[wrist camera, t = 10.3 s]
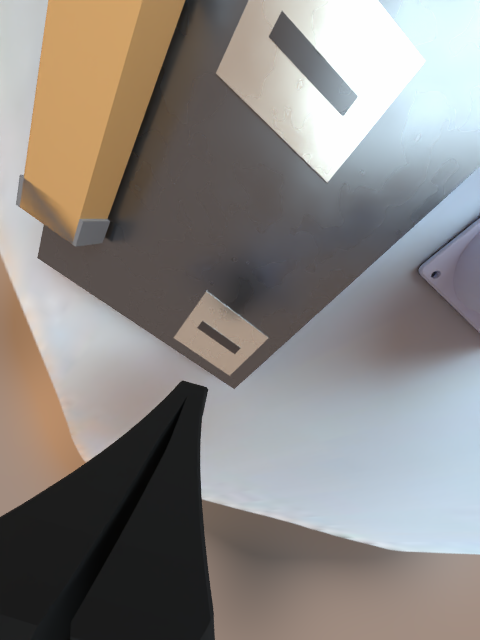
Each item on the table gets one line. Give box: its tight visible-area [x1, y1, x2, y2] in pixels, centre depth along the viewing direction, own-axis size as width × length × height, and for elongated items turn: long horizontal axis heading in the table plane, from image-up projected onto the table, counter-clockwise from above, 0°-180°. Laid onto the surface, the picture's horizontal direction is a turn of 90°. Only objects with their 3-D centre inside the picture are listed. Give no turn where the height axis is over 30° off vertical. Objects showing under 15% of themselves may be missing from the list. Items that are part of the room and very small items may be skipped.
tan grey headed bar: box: [16, 0, 185, 247], centre depth 9 cm, size 15×4×2 cm, turn 143°
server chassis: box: [38, 0, 480, 389], centre depth 12 cm, size 18×22×3 cm
